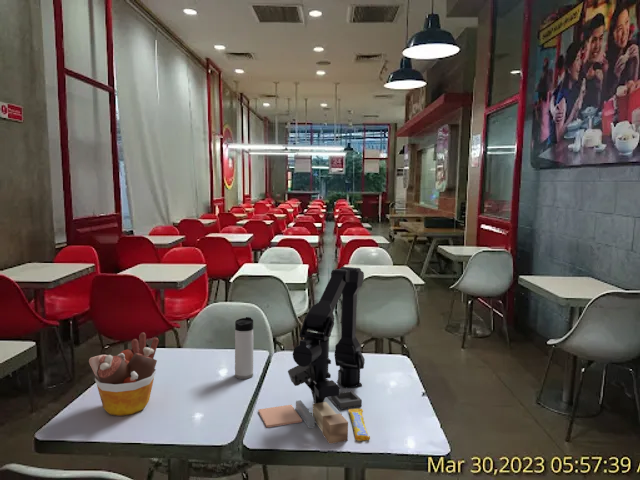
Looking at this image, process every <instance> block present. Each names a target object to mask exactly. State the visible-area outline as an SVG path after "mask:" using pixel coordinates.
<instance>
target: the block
mask: <svg viewBox="0 0 640 480" xmlns="http://www.w3.org/2000/svg"><path fill="white" fill-rule="evenodd" d="M341 414H342V413H341ZM341 414H334V415H328V416H323V432H322V436H323V437H324V439H325V440H326V441H327V443H329V445H331V444H335V443H342V442H347V441H348V439H349V421H347V419H346V418H345V417H344V415H343V414H342V415H341Z"/></svg>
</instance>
